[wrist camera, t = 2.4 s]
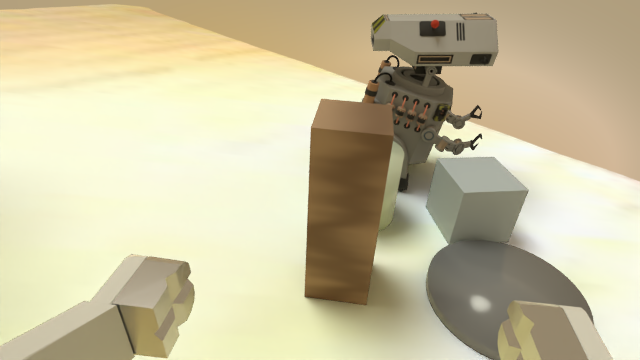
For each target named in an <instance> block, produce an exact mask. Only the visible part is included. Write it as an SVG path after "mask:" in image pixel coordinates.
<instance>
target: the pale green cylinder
mask: <svg viewBox="0 0 640 360" xmlns="http://www.w3.org/2000/svg"><path fill="white" fill-rule="evenodd" d="M403 160H404V151H403V149H402V148H401V146H400V145H398V144H397V143H396V142H394V141H393V144H392V150H391V156H390V163H389V169H388V175H387V181H386V187H385V193H384V199H383V205H382V211H381V217H380V224H379V230H378V231H381V230H383V229H385V228H386V227H388V226H389V225H390V223H391V222H392V219H393V214H394V209H395V203H396V198H397V192H398V187H399V182H400V176H401V171H402V165H403Z"/></svg>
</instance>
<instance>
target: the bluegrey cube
mask: <svg viewBox="0 0 640 360" xmlns="http://www.w3.org/2000/svg"><path fill="white" fill-rule="evenodd" d="M528 191H529V190H528V189H527V188H526V187H525V186H524V185H523V184H522V183H521V182H519V181H518V180H517V179H516V178H515V177H514V176H513V175H512V174H511V173H510V172H509V171H508V170H507V169H506V168H505V167H504V166H503V165H502V164H501V163H500V162H499V161H498V160H497V159H496V158H494V157H476V158H437V162H436V166H435V170H434V174H433V179H432V183H431V187H430V191H429V196H428V200H427V204H426V208H427V210H428V212H429V213H430V215H431V216H432V218H433V220H434V221H435V223H436V225H437V226H438V228H439V230H440V231H441V233H442V235H443V236H444V238H445V240H446V241H447V243H448V245H450V244H453V243H456V242H460V241H466V240H487V241H494V242H508V241H509V238H510V236H511V233H512V231H513V228H514V226H515V223H516V221H517V218H518V216H519V213H520V211H521V208H522V206H523V203H524V201H525V198H526V196H527V193H528Z"/></svg>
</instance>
